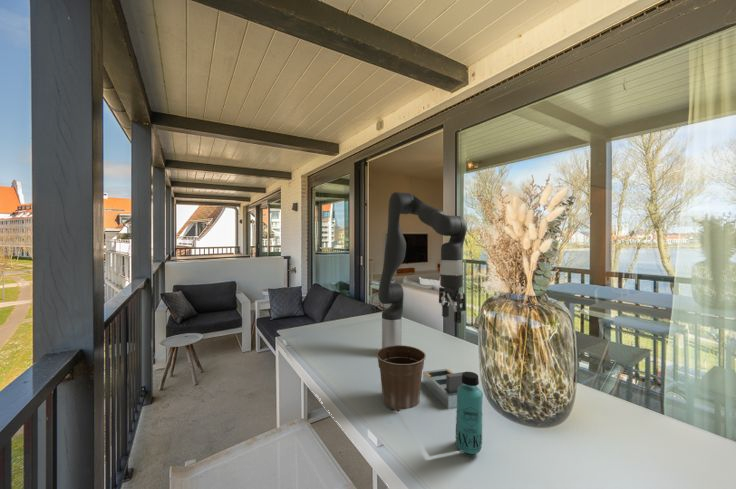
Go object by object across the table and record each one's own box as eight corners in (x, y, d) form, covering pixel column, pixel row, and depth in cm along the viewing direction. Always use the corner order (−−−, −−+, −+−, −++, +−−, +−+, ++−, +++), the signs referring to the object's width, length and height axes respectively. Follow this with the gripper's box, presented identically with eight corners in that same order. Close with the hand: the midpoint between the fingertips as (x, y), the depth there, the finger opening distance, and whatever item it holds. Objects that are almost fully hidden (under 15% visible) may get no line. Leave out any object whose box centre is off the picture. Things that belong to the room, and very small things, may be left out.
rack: (422, 385, 112) (423, 370, 112) (446, 381, 115) (446, 368, 115) (448, 412, 95) (448, 395, 95) (475, 407, 97) (475, 391, 97)
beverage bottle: (451, 443, 80) (452, 368, 80) (475, 442, 81) (476, 367, 80) (461, 461, 74) (462, 380, 73) (487, 459, 74) (488, 379, 74)
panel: (446, 401, 99) (446, 374, 99) (464, 398, 101) (464, 371, 101) (449, 404, 97) (449, 377, 97) (467, 401, 99) (468, 374, 99)
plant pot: (392, 421, 90) (393, 367, 89) (367, 396, 104) (367, 349, 104) (435, 407, 97) (436, 358, 97) (406, 385, 111) (407, 342, 111)
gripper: (432, 271, 111) (432, 315, 111) (451, 275, 97) (451, 325, 97) (451, 271, 113) (451, 314, 113) (472, 274, 99) (472, 324, 99)
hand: (451, 319), depth 105 cm, fingers open, 8 cm apart
